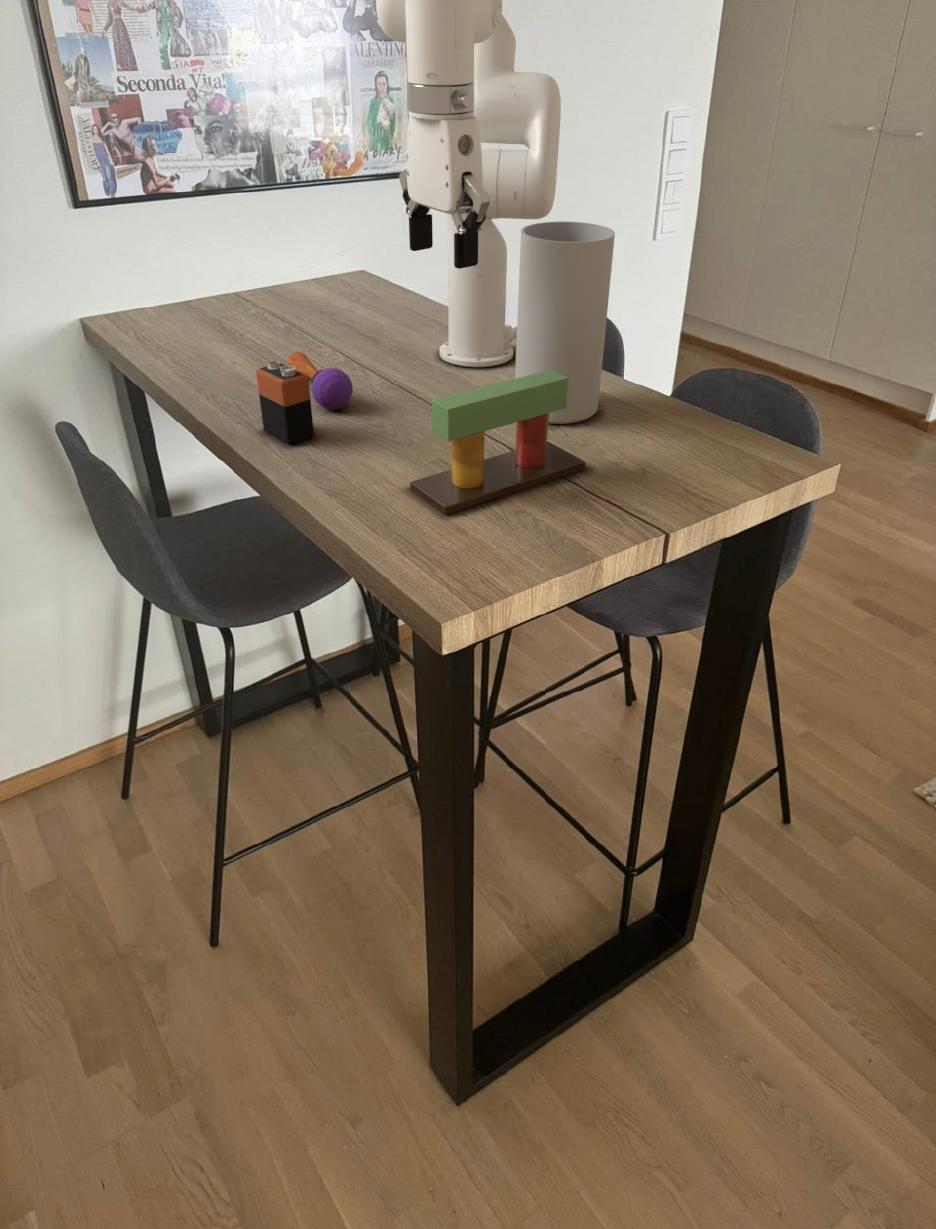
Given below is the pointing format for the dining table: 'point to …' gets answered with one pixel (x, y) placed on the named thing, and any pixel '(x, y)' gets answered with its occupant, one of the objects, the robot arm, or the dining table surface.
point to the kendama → (324, 382)
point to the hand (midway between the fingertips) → (443, 257)
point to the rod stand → (496, 469)
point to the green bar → (498, 405)
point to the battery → (285, 402)
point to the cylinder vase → (565, 309)
